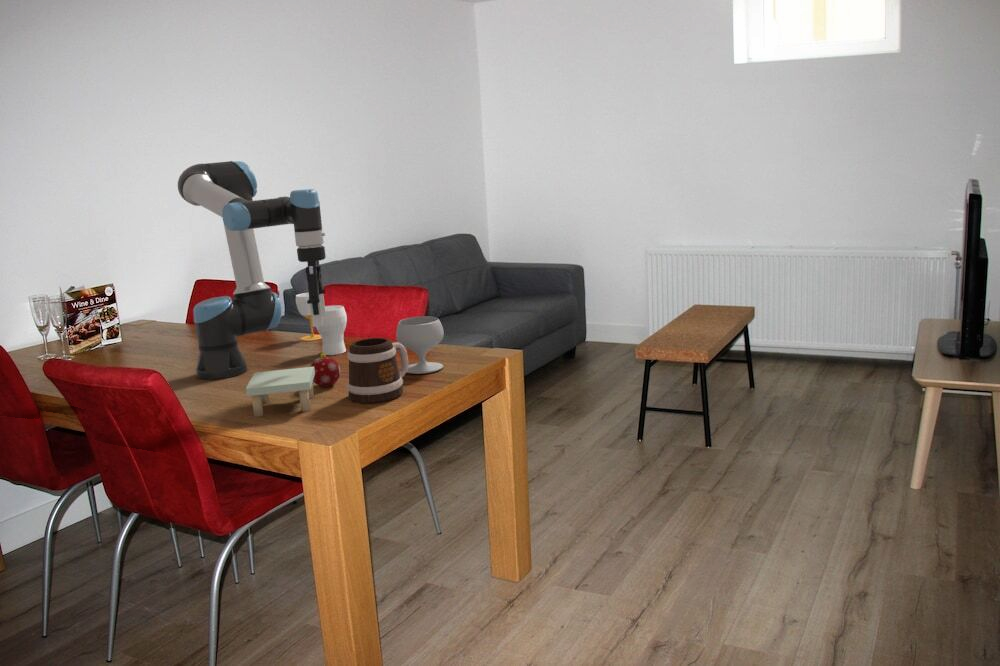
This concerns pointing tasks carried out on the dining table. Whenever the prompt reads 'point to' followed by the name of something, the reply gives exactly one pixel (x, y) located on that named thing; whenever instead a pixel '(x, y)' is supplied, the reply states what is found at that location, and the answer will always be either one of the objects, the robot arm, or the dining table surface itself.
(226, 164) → the robot arm
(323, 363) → the christmas ornament
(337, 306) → the cup
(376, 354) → the mug
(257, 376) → the mint green side table
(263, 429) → the dining table surface
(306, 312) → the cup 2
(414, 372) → the chalice
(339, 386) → the dining table surface
